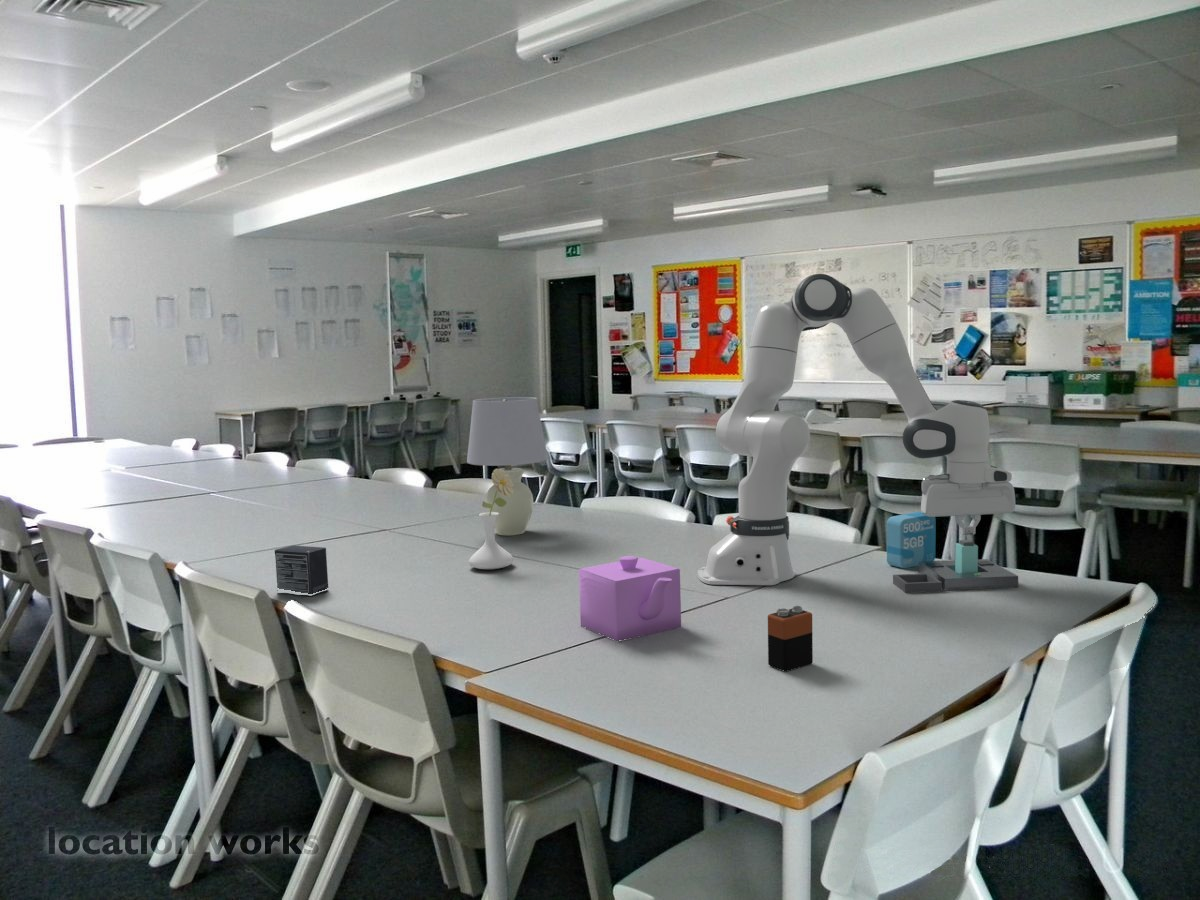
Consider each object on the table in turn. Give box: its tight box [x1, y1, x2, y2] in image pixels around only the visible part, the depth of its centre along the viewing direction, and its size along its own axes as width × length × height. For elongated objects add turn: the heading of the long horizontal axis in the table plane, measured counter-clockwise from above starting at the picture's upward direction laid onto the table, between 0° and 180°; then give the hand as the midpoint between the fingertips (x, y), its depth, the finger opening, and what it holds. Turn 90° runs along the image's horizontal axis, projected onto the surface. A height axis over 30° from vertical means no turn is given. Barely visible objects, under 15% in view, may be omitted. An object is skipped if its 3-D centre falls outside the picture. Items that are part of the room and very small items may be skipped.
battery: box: [767, 605, 814, 672], centre depth 161 cm, size 4×7×10 cm, turn 123°
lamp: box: [466, 396, 549, 537], centre depth 281 cm, size 24×24×40 cm
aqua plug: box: [954, 539, 979, 573], centre depth 213 cm, size 4×4×9 cm
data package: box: [886, 511, 937, 569], centre depth 228 cm, size 12×4×12 cm, turn 120°
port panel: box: [918, 558, 1019, 591], centre depth 213 cm, size 16×16×3 cm
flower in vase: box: [468, 468, 515, 570], centre depth 239 cm, size 13×11×25 cm
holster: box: [892, 573, 943, 594], centre depth 208 cm, size 8×8×2 cm
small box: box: [274, 544, 329, 594], centre depth 221 cm, size 11×6×10 cm, turn 65°
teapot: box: [578, 555, 682, 642], centre depth 185 cm, size 15×25×14 cm, turn 33°
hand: (967, 534), depth 212 cm, fingers closed
